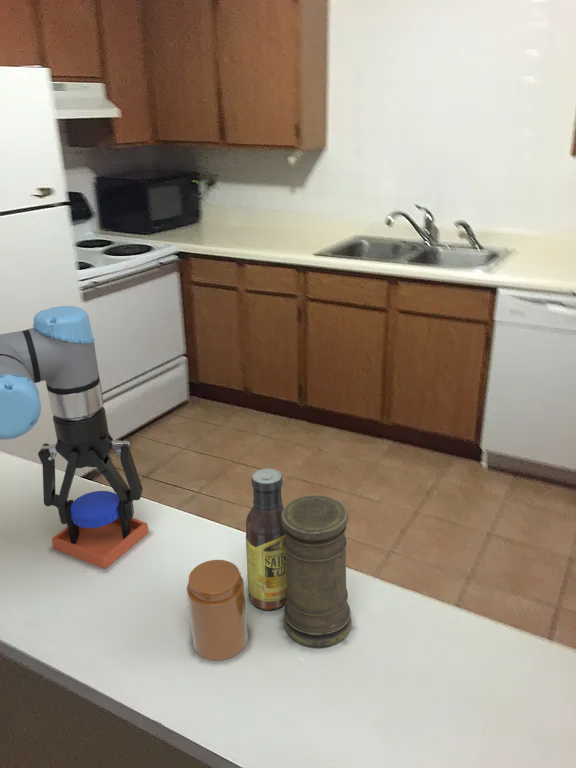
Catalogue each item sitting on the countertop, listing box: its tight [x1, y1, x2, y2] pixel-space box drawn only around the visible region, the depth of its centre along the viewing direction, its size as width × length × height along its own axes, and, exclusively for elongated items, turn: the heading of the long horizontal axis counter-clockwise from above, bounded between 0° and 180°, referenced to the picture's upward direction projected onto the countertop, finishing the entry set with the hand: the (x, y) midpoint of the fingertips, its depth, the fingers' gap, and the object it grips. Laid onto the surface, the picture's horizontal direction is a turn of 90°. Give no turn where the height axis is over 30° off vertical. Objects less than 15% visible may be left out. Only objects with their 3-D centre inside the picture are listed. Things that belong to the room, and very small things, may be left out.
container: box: [281, 494, 352, 649], centre depth 87 cm, size 9×9×18 cm
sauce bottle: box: [245, 468, 287, 611], centre depth 91 cm, size 7×6×20 cm
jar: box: [186, 559, 249, 662], centre depth 86 cm, size 7×7×10 cm
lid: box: [70, 490, 120, 528], centre depth 106 cm, size 8×8×2 cm
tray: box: [51, 517, 149, 570], centre depth 108 cm, size 11×10×2 cm
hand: (101, 536), depth 108 cm, fingers closed on lid, 8 cm apart
